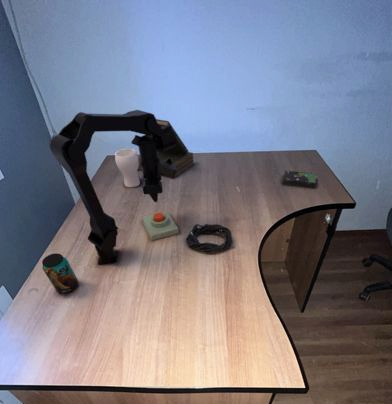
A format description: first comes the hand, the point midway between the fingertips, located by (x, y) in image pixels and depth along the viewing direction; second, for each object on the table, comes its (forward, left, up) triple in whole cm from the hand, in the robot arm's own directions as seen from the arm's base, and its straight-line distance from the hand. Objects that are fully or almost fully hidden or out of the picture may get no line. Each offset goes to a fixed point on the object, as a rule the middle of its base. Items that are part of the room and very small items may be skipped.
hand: (155, 200), depth 98 cm
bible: (+57, -5, -12) cm, 58 cm away
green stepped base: (0, 0, -12) cm, 12 cm away
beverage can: (-29, +30, -12) cm, 43 cm away
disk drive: (+27, -68, -12) cm, 74 cm away
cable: (-13, -18, -12) cm, 25 cm away
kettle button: (0, 0, -8) cm, 8 cm away
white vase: (+40, +13, -12) cm, 44 cm away
